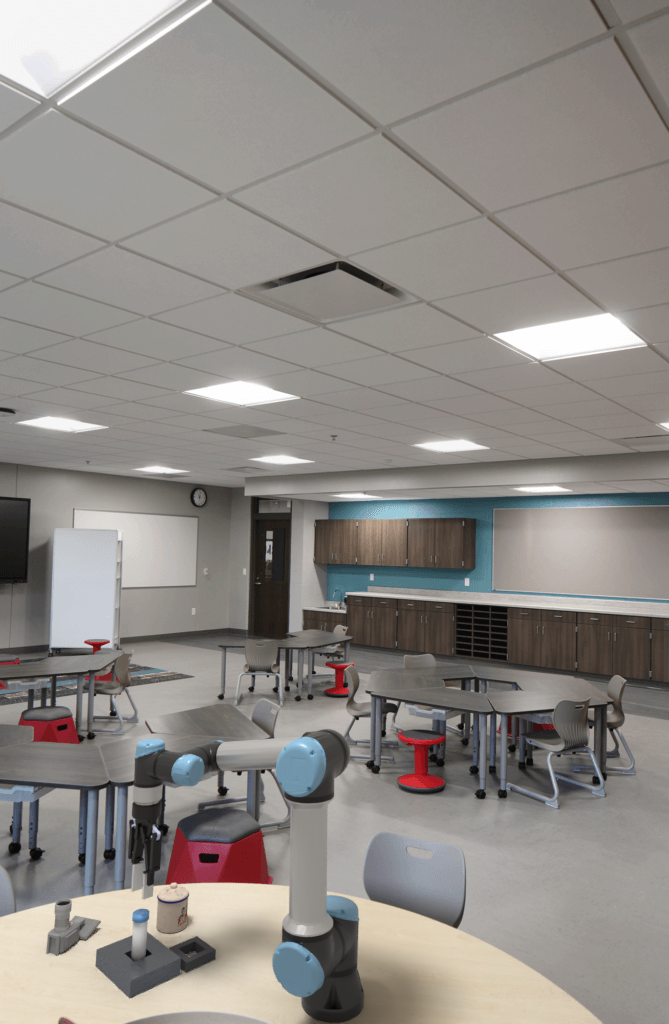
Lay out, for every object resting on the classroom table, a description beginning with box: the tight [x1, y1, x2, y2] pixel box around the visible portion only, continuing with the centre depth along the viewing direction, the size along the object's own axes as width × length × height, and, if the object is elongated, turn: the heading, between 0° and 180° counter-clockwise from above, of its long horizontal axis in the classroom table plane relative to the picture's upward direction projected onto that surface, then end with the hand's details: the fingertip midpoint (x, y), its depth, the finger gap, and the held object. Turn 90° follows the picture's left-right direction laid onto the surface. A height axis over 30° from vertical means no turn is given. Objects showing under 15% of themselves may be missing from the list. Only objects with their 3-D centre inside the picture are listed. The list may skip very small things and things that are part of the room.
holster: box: [168, 935, 217, 974], centre depth 173 cm, size 9×9×2 cm
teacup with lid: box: [155, 882, 190, 934], centre depth 191 cm, size 12×9×12 cm
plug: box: [131, 908, 150, 962], centre depth 168 cm, size 4×4×14 cm
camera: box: [46, 898, 102, 956], centre depth 181 cm, size 9×12×15 cm
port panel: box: [94, 931, 182, 999], centre depth 167 cm, size 18×14×4 cm
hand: (141, 893), depth 169 cm, fingers open, 5 cm apart
